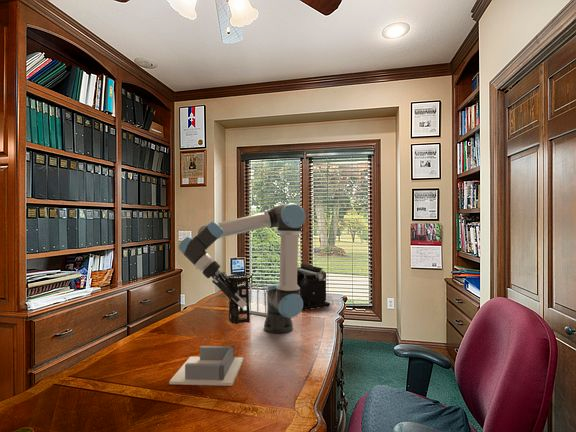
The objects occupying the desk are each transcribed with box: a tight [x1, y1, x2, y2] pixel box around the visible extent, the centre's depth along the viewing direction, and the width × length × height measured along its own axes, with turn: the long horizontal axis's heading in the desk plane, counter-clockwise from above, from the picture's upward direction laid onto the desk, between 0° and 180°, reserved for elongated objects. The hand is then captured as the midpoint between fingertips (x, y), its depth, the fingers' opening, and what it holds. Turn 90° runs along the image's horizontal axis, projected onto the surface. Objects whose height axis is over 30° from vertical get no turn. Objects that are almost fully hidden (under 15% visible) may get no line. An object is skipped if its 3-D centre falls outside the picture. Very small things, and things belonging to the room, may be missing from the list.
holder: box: [228, 275, 251, 325], centre depth 137 cm, size 11×8×20 cm
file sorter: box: [237, 282, 270, 317], centre depth 200 cm, size 25×17×16 cm
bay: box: [168, 345, 245, 387], centre depth 119 cm, size 22×20×6 cm
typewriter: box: [297, 263, 331, 311], centre depth 216 cm, size 31×27×25 cm
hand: (245, 304), depth 136 cm, fingers closed on holder, 5 cm apart
